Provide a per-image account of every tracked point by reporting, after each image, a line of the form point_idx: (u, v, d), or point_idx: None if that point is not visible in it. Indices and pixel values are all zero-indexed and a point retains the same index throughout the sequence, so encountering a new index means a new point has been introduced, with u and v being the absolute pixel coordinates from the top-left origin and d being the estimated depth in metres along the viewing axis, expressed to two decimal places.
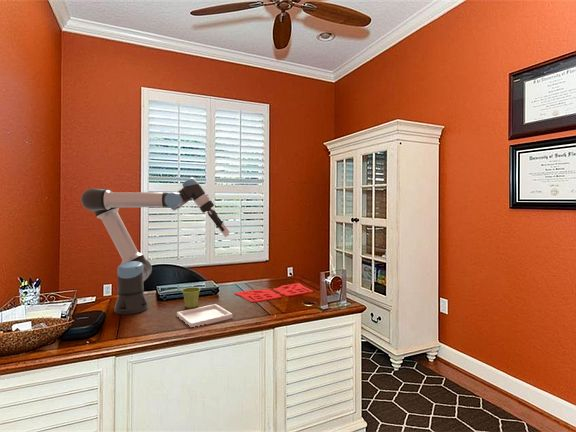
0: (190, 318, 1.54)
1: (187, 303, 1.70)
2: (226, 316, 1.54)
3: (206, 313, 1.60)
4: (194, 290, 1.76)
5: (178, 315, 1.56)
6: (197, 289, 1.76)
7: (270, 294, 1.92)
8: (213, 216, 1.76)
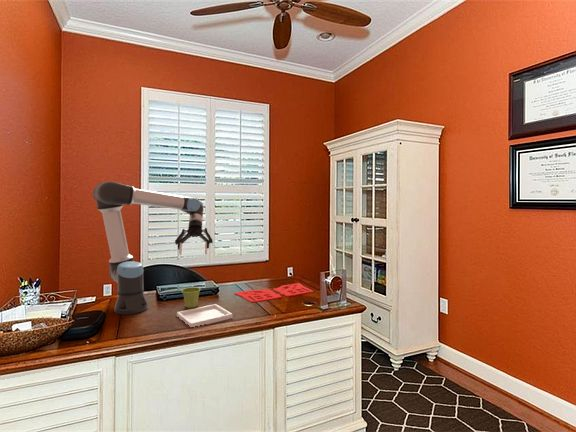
0: (190, 318, 1.54)
1: (187, 303, 1.70)
2: (226, 316, 1.54)
3: (206, 313, 1.60)
4: (194, 290, 1.76)
5: (178, 315, 1.56)
6: (197, 289, 1.76)
7: (270, 294, 1.91)
8: None
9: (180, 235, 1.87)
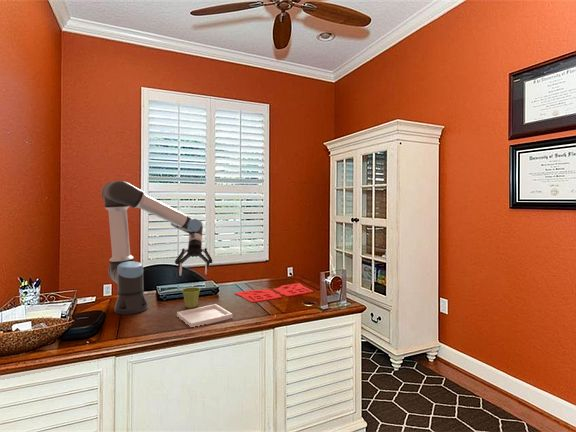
0: (190, 318, 1.54)
1: (187, 303, 1.70)
2: (226, 316, 1.54)
3: (206, 313, 1.60)
4: (194, 290, 1.76)
5: (178, 315, 1.56)
6: (197, 289, 1.76)
7: (270, 294, 1.91)
8: None
9: (180, 255, 1.88)
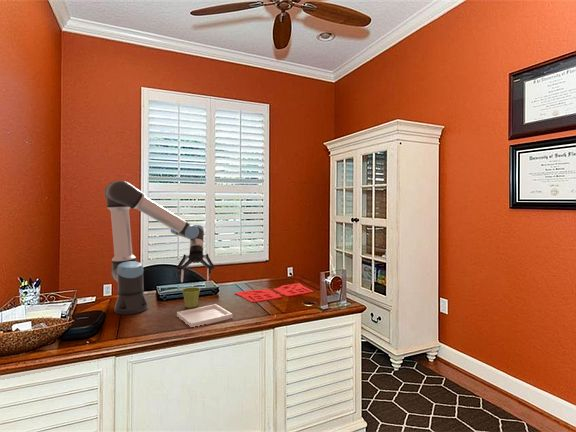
0: (190, 318, 1.54)
1: (187, 303, 1.70)
2: (226, 316, 1.54)
3: (206, 313, 1.60)
4: (194, 290, 1.76)
5: (178, 315, 1.56)
6: (197, 289, 1.76)
7: (270, 294, 1.91)
8: None
9: (181, 261, 1.85)
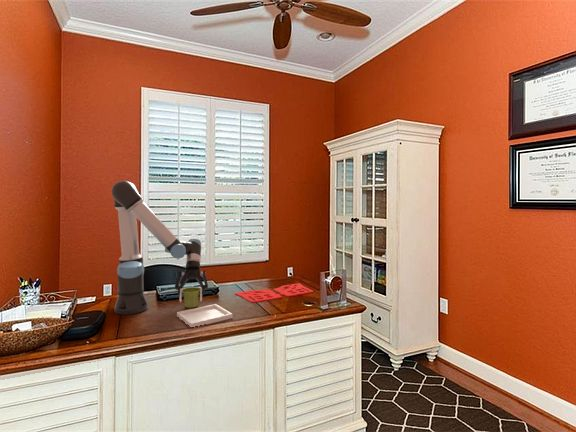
0: (190, 318, 1.54)
1: (187, 303, 1.70)
2: (226, 316, 1.54)
3: (206, 313, 1.60)
4: (194, 290, 1.76)
5: (178, 315, 1.56)
6: (197, 289, 1.76)
7: (270, 294, 1.91)
8: (205, 278, 1.80)
9: (178, 279, 1.75)
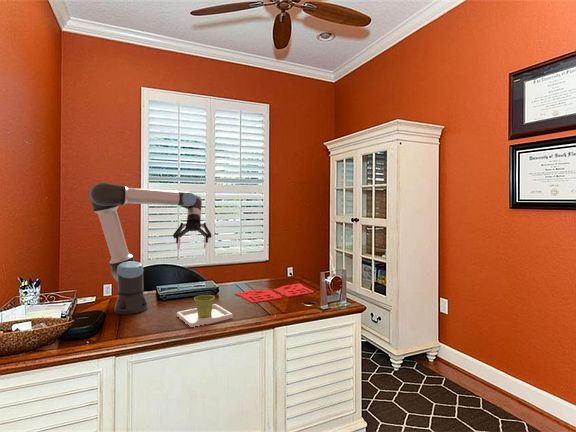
0: (190, 318, 1.54)
1: (200, 313, 1.54)
2: (226, 316, 1.54)
3: None
4: (207, 298, 1.61)
5: (178, 315, 1.56)
6: (211, 297, 1.60)
7: (271, 294, 1.91)
8: None
9: (178, 229, 1.83)
